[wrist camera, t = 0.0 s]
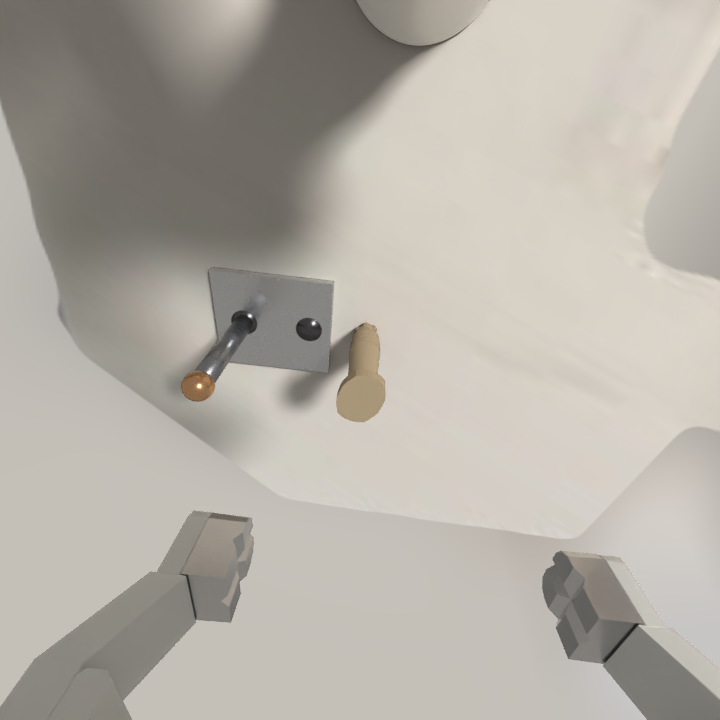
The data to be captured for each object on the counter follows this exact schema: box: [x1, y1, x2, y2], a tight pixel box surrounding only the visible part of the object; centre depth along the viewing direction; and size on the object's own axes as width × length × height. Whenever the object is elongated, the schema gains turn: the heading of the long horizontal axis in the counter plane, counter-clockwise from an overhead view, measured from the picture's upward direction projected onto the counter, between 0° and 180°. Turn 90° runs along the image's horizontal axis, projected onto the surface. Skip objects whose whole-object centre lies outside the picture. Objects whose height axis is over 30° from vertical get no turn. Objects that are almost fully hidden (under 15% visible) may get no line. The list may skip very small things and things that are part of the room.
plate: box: [209, 267, 334, 373], centre depth 49 cm, size 14×16×1 cm
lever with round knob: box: [181, 315, 253, 402], centre depth 42 cm, size 3×3×16 cm
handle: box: [336, 323, 385, 422], centre depth 44 cm, size 5×6×15 cm
